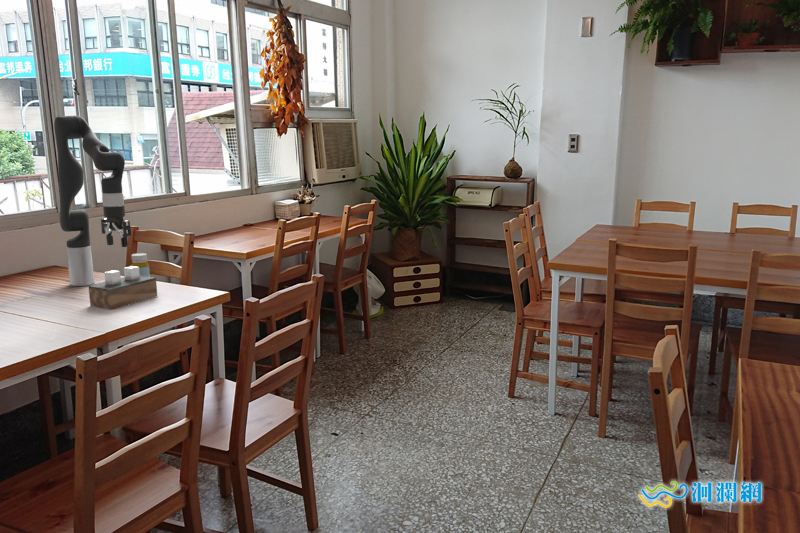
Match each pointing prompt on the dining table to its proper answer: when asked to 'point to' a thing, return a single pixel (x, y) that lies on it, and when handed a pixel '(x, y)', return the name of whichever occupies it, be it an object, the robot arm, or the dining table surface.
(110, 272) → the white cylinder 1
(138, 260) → the bottle
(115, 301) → the walnut block
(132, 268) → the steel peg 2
